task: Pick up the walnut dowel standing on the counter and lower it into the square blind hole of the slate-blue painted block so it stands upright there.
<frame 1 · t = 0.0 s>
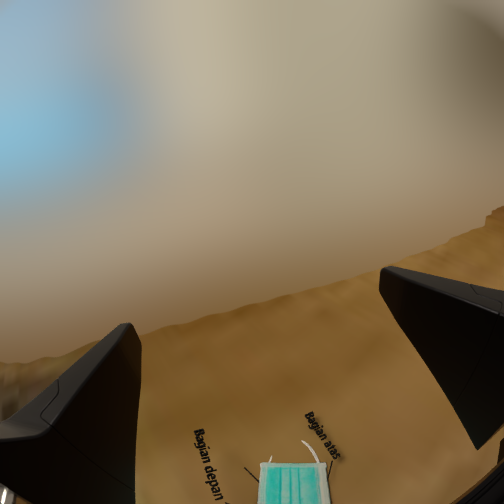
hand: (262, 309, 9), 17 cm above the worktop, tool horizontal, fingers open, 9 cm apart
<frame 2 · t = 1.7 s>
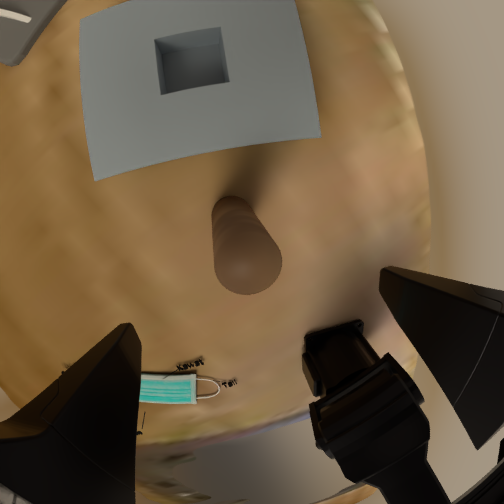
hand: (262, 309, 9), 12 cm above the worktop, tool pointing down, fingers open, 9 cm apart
hole block: (194, 75, 16), on the worktop
dowel: (231, 215, 20), on the worktop
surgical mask: (143, 380, 26), on the worktop
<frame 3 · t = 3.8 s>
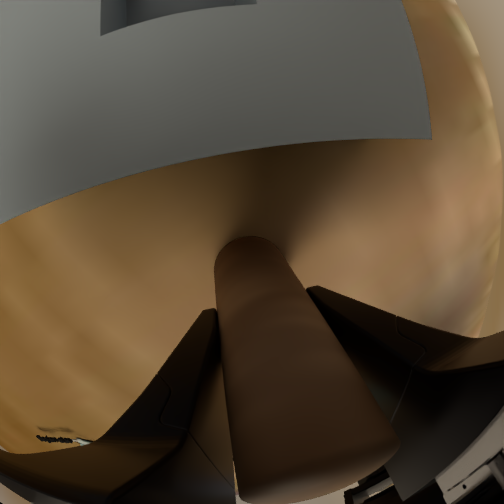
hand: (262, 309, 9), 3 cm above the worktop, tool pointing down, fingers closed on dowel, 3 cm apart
hole block: (181, 20, 7), on the worktop
dowel: (249, 270, 12), on the worktop, touching gripper
when the fingers open (5 cm above the worktop, at t = 7.5 s): dowel stays where it is, resting on hole block.
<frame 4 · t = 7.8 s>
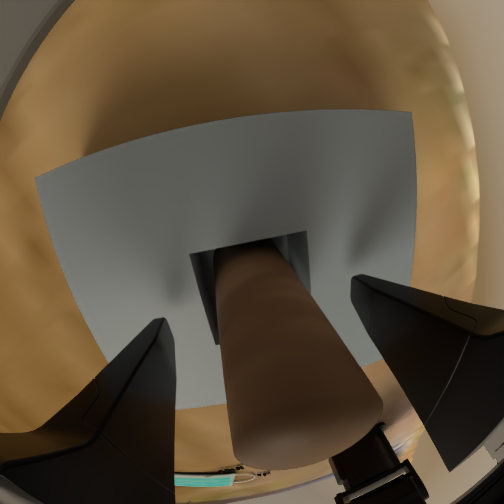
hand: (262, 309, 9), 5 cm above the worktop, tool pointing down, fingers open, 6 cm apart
hole block: (243, 252, 13), on the worktop
dowel: (246, 260, 12), point 1 cm above the worktop, touching hole block
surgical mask: (184, 473, 23), on the worktop
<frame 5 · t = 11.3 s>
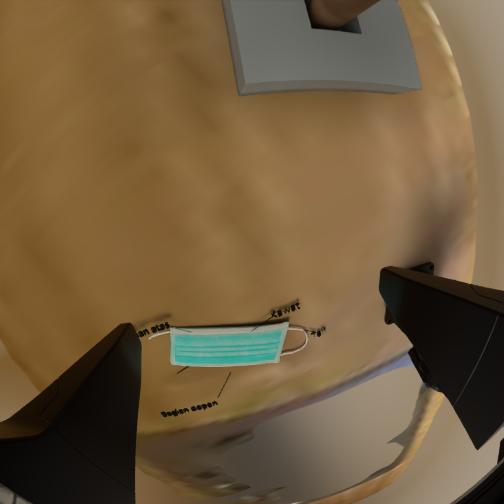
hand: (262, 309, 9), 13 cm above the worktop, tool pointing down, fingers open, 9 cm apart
hole block: (312, 28, 16), on the worktop
dowel: (316, 23, 15), point 1 cm above the worktop, touching hole block
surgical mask: (223, 338, 26), on the worktop
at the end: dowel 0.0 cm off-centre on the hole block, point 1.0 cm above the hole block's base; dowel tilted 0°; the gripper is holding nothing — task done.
